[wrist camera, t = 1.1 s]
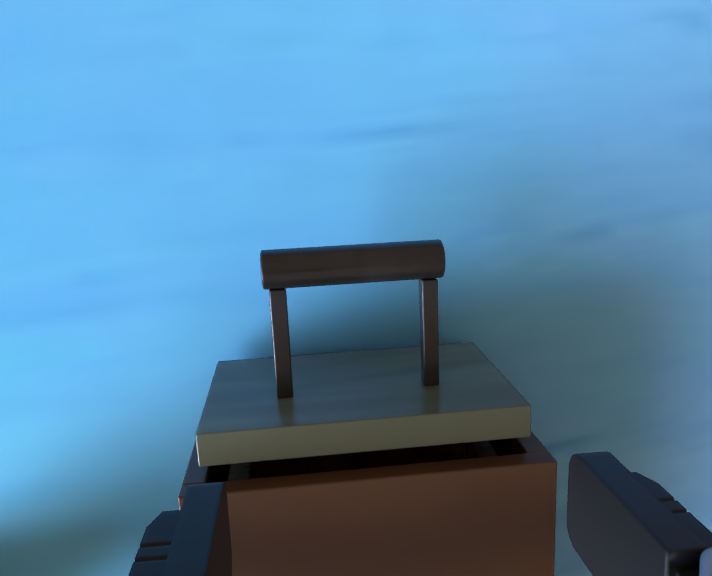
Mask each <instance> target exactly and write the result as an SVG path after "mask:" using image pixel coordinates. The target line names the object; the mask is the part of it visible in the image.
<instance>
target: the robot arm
mask: <svg viewBox="0 0 712 576" xmlns="http://www.w3.org/2000/svg"><path fill="white" fill-rule="evenodd" d="M567 528H568V533H569V537H570V540H571V543H572V545H573V547H574V549H575V551H576V552H577V553H578V555H579V556H580V558H581V559H582V561H583V562H584V563H585V565H586V566H587V568H588V569H589V571H590V572H591V573H592V575H593V576H712V533H711V532H710V531H709V530H708V529H707V528H706V527H705V526H704V525H703V524H702V523H701V522H699V521H698V520H697V519H696V518H695V517H694V516H693V515H692V514H691V513H690V512H687V511H686V509H685V508H684V507H683V506H682V505H681V504H680V503H679V502H678V501H674V498H673V497H672V496H671V495H670V494H669V493H668V492H667V491H666V490H665V489H664V488H663V487H662V486H660V485H659V484H658V483H656V482H654V481H652V480H650V479H648V478H647V477H645V476H643V475H641V474H639V473H637V472H630V471H629V470H628V469H627V468H625V467H624V466H623V465H622V464H621V463H620V462H619V461H618V460H617V459H616V458H615V457H614V456H613V455H612V454H611V453H610V452H606V451H605V452H593V453H581V454H573V455H572V456H571V458H570V462H569V477H568V500H567ZM129 576H232V547H231V536H230V524H229V513H228V501H227V491H226V485H225V482H217V483H205V484H193V485H189V486H188V488H187V491H186V495H185V498H184V501H183V505H182V508H181V510H175V511H163V512H161V513H160V514H159V515H158V516H157V517H156V518H155V519H154V520H153V521H152V522H151V523H150V524H149V525H148V526H147V527H146V530H145V533H144V535H143V538H142V541H141V543H140V548H139V549H138V551H137V554H136V557H135V562H133V565H132V568H131V570H130V573H129Z"/></svg>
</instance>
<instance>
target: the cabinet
mask: <svg viewBox="0 0 712 576" xmlns="http://www.w3.org/2000/svg"><path fill="white" fill-rule="evenodd" d="M489 443H490V444H491V446H492V447H493V449H494V450H495V452H496V453H497V455H498V456H492V457H481V458H471V459H460V460H449V461H438V462H428V463H417V464H406V465H396V466H385V467H374V468H363V469H353V470H342V471H331V472H321V473H310V474H299V475H288V476H278V477H267V478H256V479H246V480H235V481H227V480H228V475H229V469H230V464H226V465H215V466H204V467H199V464H198V455H197V446H196V441H195V444H194V447H193V451H192V454H191V457H190V460H189V464H188V467H187V470H186V474H185V477H184V480H183V484H182V487H181V490H180V493H179V496H178V503H179V510H181V508H182V505H183V501H184V498H185V495H186V491H187V488H188V486H189V485H193V484H205V483H217V482H225V485H226V491H227V501H228V513H229V524H230V536H231V547H232V576H554V558H555V522H556V485H557V461H556V460H555V459H554V457H553V456H552V455H551V454H550V453H549V452H548V451H547V449H546V448H545V447H544V446H543V445H542V443H541V442H540V441H539V440H538V439H537V438H536V436H535V435H534V434H533V433H532V432H531V436H530V437H523V438H512V439H501V440H490V441H489Z"/></svg>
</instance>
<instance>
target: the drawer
mask: <svg viewBox="0 0 712 576" xmlns="http://www.w3.org/2000/svg"><path fill="white" fill-rule="evenodd" d="M260 262H261V277H262V286H263V289H265V290H266V289H269V299H270V312H271V325H272V338H273V351H274V357H271V358H258V359H245V360H232V361H219V362H218V364H217V367H216V370H215V374H214V377H213V380H212V383H211V386H210V390H209V393H208V396H207V399H206V403H205V406H204V409H203V412H202V416H201V419H200V422H199V425H198V428H197V432H196V435H195V437H196V446H197V455H198V464H199V467H204V466H215V465H226V464H230V469H229V475H228V480H227V481H235V480H246V479H256V478H267V477H278V476H288V475H299V474H310V473H321V472H331V471H342V470H353V469H363V468H374V467H385V466H396V465H406V464H417V463H428V462H438V461H449V460H460V459H471V458H481V457H492V456H498V455H497V453H496V452H495V450H494V449H493V447H492V446H491V444H490V443H489V441H490V440H501V439H512V438H523V437H530V436H531V405H530V404H529V403H528V402H527V401H526V400H525V399H524V397H523V396H522V395H521V394H520V393H519V392H518V391H517V390H516V389H515V388H514V387H513V386H512V385H511V383H510V382H509V381H508V380H507V379H506V378H505V377H504V376H503V375H502V374H501V373H500V372H499V370H498V369H497V368H496V367H495V366H494V365H493V364H492V363H491V362H490V361H489V360H488V359H487V358H486V356H485V355H484V354H483V353H482V352H481V351H480V350H479V349H478V348H477V347H476V346H475V345H474V344H473V342H467V343H454V344H441V345H439V334H438V281H437V279H436V278H441V277H443V275H444V272H445V252H444V247H443V244H442V241H441V240H439V239H438V240H422V241H405V242H389V243H373V244H356V245H340V246H324V247H307V248H291V249H275V250H262V251H261V253H260ZM415 279H419V304H420V346H415V347H402V348H388V349H375V350H362V351H349V352H336V353H323V354H310V355H297V356H291V352H290V338H289V324H288V310H287V296H286V288H296V287H310V286H325V285H340V284H355V283H370V282H385V281H400V280H415Z"/></svg>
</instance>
